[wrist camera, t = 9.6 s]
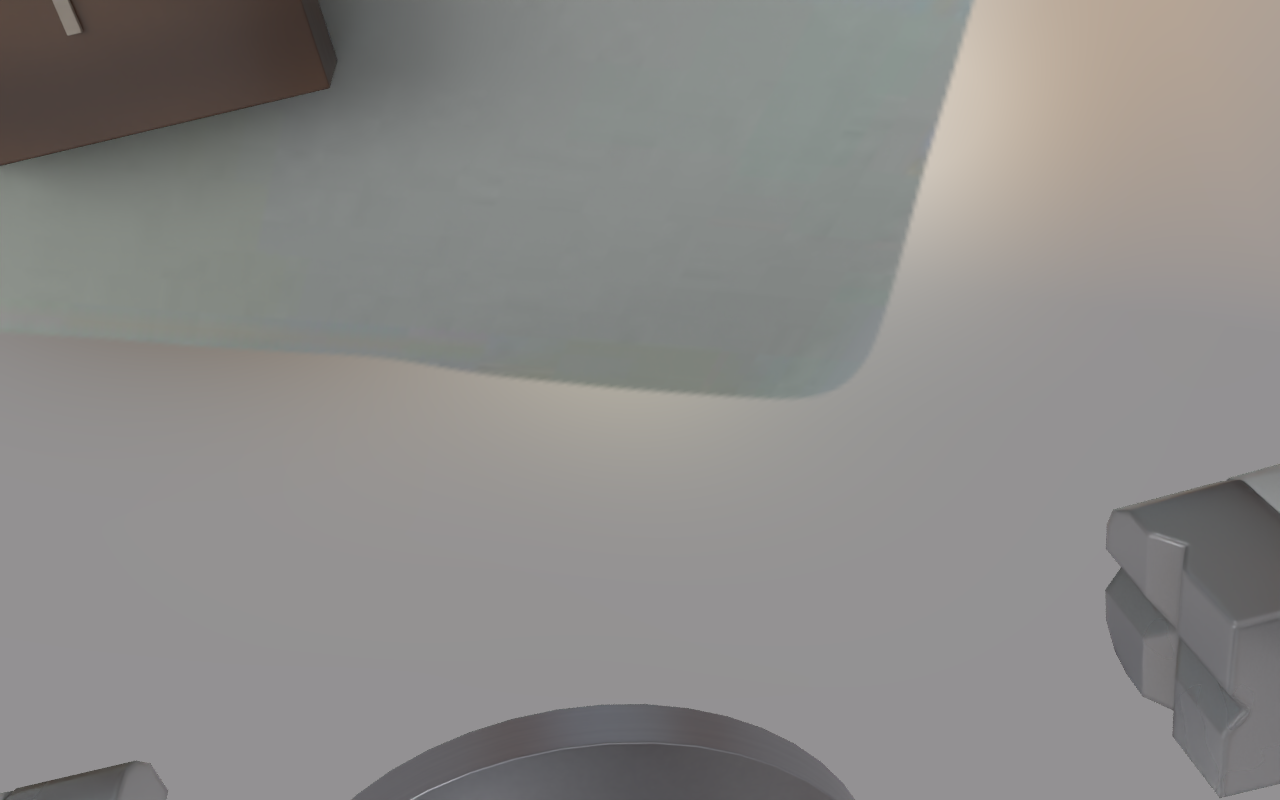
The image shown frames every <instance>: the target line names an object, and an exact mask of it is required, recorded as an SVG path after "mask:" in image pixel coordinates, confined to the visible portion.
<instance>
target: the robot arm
mask: <svg viewBox="0 0 1280 800" xmlns="http://www.w3.org/2000/svg"><path fill="white" fill-rule="evenodd" d="M1106 549H1107V550H1108V552H1109V553H1110V554H1111V555H1112V556H1113V558H1114V559H1115V560H1116V561H1117V562H1118V564H1119V565H1120V566H1121V569H1120V570H1119V571H1118V573H1117V574H1116V576H1115V577H1114V578H1113V580H1112V581H1111V583H1110V584H1109V585H1108V587H1107V588H1106V590H1105V591H1106V621H1107V624H1108V628H1109V632H1110V635H1111V639H1112V642H1113V646H1114V649H1115V652H1116V654H1117V656H1118V658H1119V660H1120V662H1121V664H1122V665H1123V668H1124V670H1125V672H1126V674H1127V675H1128V677H1129V678H1130V679H1131V681H1132V682H1133V683H1134V685H1135V686H1136V688H1137V689H1138V690H1139V692H1140V693H1141V694H1142V696H1143V697H1145V698H1147V699H1150V700H1152V701H1154V702H1156V703H1159V704H1161V705H1163V706H1165V707H1167V708H1170V709H1172V710H1174V716H1173V737H1174V738H1175V740H1176V741H1177V742H1178V744H1179V745H1180V746H1181V748H1182V749H1183V750H1184V752H1185V753H1186V754H1187V756H1188V757H1189V758H1190V760H1191V761H1192V762H1193V763H1194V765H1195V766H1196V767H1197V769H1198V770H1199V771H1200V773H1201V774H1202V775H1203V777H1204V778H1205V779H1206V781H1207V782H1208V783H1209V784H1210V786H1211V787H1212V788H1213V790H1214V791H1215V792H1216V794H1217V795H1218V796H1219V798H1222V797H1226V796H1230V795H1235V794H1239V793H1243V792H1247V791H1252V790H1256V789H1259V788H1264V787H1268V786H1272V785H1277V784H1280V464H1278V465H1274V466H1271V467H1267V468H1264V469H1260V470H1257V471H1253V472H1249V473H1246V474H1242V475H1238V476H1235V477H1231V478H1229V479H1227V480H1226V481H1220V482H1216V483H1213V484H1209V485H1205V486H1202V487H1197V488H1194V489H1190V490H1186V491H1182V492H1178V493H1175V494H1171V495H1167V496H1163V497H1160V498H1156V499H1152V500H1148V501H1145V502H1141V503H1137V504H1133V505H1129V506H1126V507H1122V508H1118V509H1114V510H1113V511H1112V513H1111V516H1110V519H1109V521H1108V523H1107V536H1106ZM167 793H168V790H167V788H166V787H165V785H164V784H163V782H162V781H161V779H160V778H159V776H158V774H157V773H156V771H155V770H154V768H153V767H152V765H151V764H150V763H145V762H140V761H133V762H128V763H124V764H120V765H116V766H111V767H107V768H102V769H98V770H94V771H90V772H86V773H81V774H77V775H72V776H68V777H64V778H59V779H55V780H51V781H47V782H42V783H38V784H34V785H29V786H25V787H21V788H17V789H15V790H14V791H10V792H5V793H1V794H0V800H166V798H167Z"/></svg>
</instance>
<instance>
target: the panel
mask: <svg viewBox="0 0 1280 800" xmlns="http://www.w3.org/2000/svg"><path fill="white" fill-rule="evenodd" d="M336 64H337V58H336V54H335V51H334V48H333V45H332V42H331V39H330V36H329V33H328V30H327V27H326V24H325V20H324V17H323V14H322V11H321V8H320V5H319V2H318V0H0V166H2V165H6V164H10V163H14V162H18V161H23V160H27V159H31V158H35V157H40V156H44V155H48V154H52V153H57V152H61V151H65V150H69V149H74V148H78V147H82V146H86V145H91V144H95V143H99V142H103V141H108V140H112V139H116V138H120V137H125V136H129V135H133V134H137V133H142V132H146V131H150V130H154V129H158V128H163V127H167V126H171V125H175V124H180V123H184V122H188V121H192V120H197V119H201V118H205V117H209V116H214V115H218V114H222V113H226V112H231V111H235V110H239V109H243V108H248V107H252V106H256V105H260V104H265V103H269V102H273V101H277V100H282V99H286V98H290V97H294V96H298V95H303V94H307V93H311V92H315V91H320V90H324V89H328V88H330V85H331V81H332V78H333V74H334V71H335V67H336Z"/></svg>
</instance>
